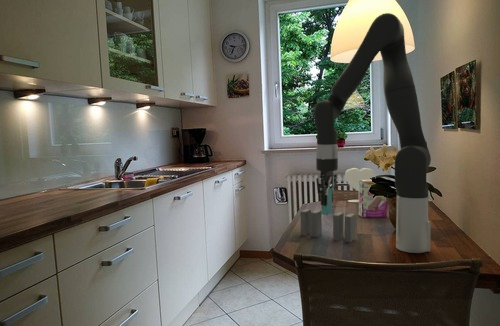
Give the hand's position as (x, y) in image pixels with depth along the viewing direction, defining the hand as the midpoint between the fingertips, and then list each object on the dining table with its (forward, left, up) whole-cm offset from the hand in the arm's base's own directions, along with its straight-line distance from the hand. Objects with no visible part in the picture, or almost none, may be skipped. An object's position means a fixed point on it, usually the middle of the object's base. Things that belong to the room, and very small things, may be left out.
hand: (326, 203), depth 131 cm
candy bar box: (-25, -31, -12) cm, 42 cm away
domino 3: (0, 0, -3) cm, 3 cm away
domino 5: (-7, +4, -12) cm, 15 cm away
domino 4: (-4, +2, -12) cm, 13 cm away
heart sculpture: (-28, -67, -12) cm, 74 cm away
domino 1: (+7, -4, -12) cm, 15 cm away
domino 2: (+4, -2, -12) cm, 13 cm away
